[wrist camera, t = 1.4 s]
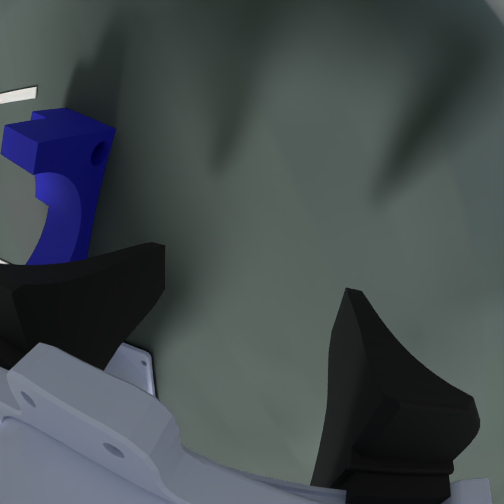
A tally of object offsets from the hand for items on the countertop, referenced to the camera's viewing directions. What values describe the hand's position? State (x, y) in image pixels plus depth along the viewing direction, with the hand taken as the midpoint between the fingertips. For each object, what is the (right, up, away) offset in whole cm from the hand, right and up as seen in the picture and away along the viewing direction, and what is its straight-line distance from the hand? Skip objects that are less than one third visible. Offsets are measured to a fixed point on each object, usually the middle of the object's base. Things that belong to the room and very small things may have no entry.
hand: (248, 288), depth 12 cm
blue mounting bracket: (-12, +5, +7) cm, 14 cm away
